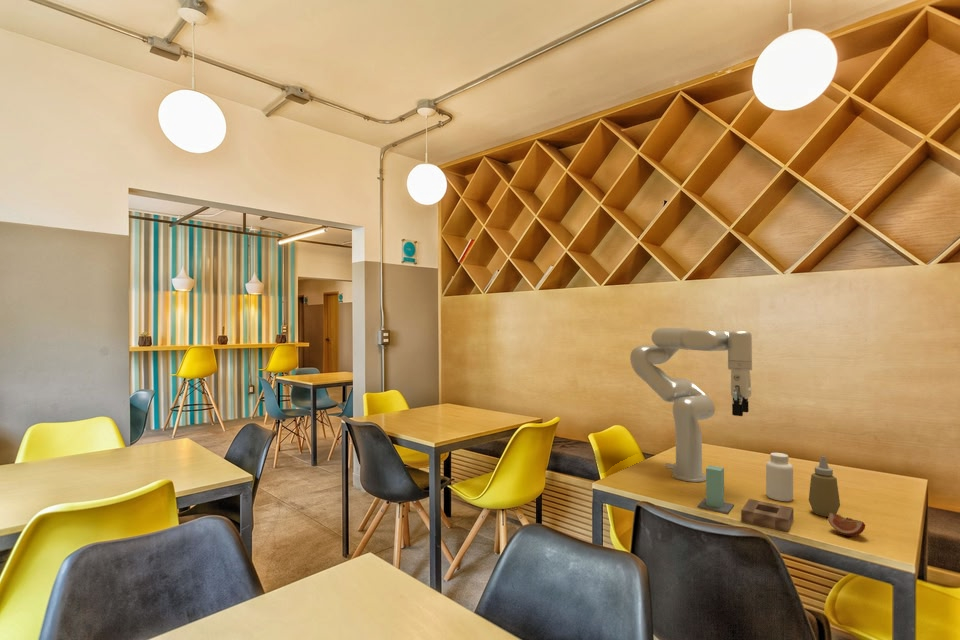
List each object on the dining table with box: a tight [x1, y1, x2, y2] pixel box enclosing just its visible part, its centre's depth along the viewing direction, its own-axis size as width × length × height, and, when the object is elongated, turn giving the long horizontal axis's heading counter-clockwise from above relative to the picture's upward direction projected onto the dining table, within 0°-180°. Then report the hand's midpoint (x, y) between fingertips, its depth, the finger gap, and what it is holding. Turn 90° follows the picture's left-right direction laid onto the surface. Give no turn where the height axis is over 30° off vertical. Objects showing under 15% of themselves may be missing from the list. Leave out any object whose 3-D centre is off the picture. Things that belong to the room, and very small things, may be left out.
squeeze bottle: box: [808, 455, 841, 518], centre depth 149 cm, size 8×8×18 cm
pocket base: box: [740, 498, 794, 533], centre depth 144 cm, size 12×12×4 cm
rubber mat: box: [696, 497, 735, 515], centre depth 155 cm, size 9×9×1 cm
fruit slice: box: [827, 513, 866, 537], centre depth 135 cm, size 8×7×5 cm
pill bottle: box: [765, 452, 794, 502], centre depth 164 cm, size 8×8×15 cm
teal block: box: [705, 464, 725, 508], centre depth 156 cm, size 4×4×12 cm
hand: (740, 413), depth 168 cm, fingers open, 9 cm apart
